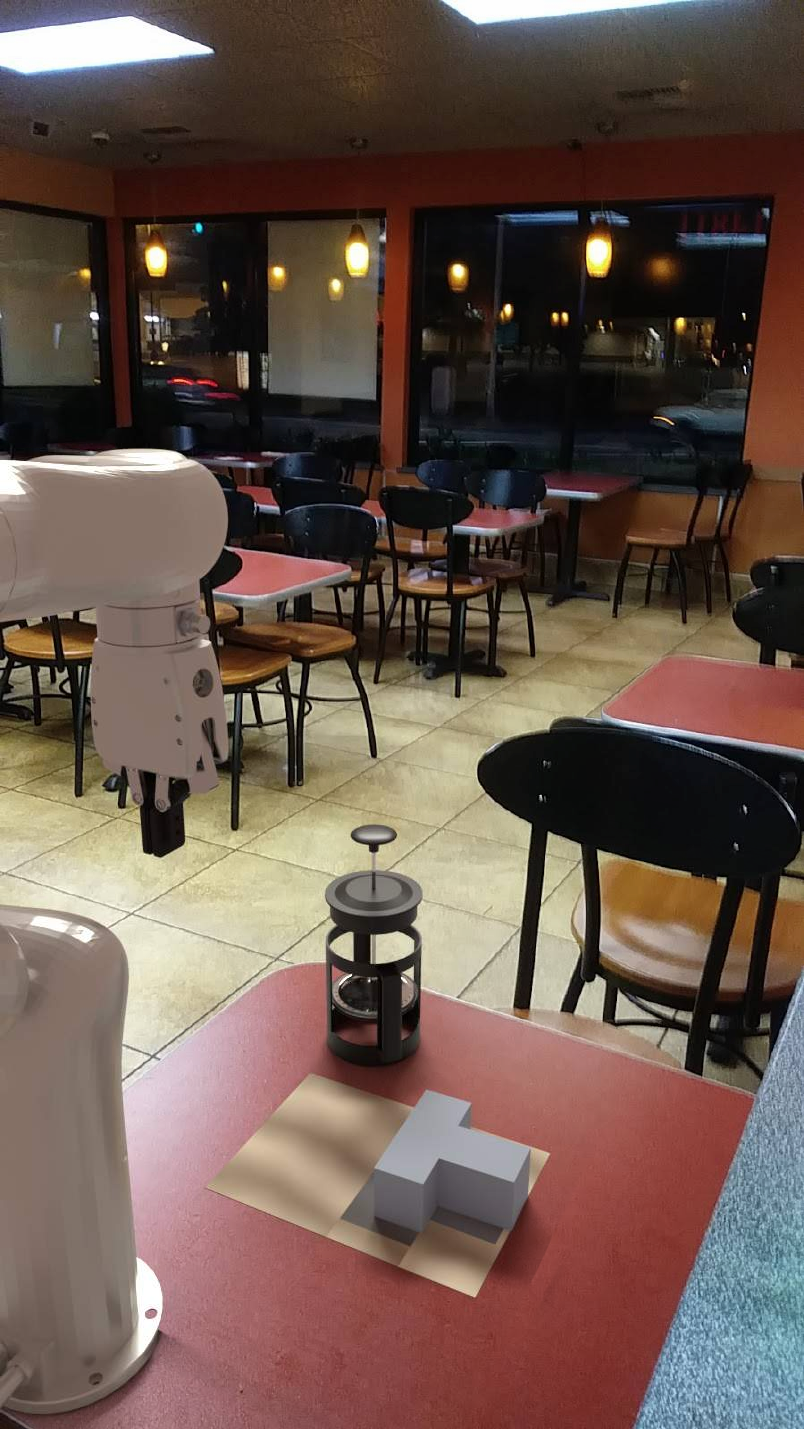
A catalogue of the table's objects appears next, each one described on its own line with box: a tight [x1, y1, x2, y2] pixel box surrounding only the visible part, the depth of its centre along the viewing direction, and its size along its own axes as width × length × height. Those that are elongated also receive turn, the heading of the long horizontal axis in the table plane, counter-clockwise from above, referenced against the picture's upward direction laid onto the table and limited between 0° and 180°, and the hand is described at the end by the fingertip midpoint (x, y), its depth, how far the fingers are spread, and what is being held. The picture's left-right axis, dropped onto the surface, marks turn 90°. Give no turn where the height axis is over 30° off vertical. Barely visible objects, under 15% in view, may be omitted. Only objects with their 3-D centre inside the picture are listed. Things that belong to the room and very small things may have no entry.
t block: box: [374, 1089, 531, 1233], centre depth 83 cm, size 10×10×4 cm
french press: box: [324, 823, 423, 1068], centre depth 99 cm, size 12×9×23 cm
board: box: [204, 1072, 551, 1299], centre depth 86 cm, size 16×23×1 cm
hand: (164, 848), depth 84 cm, fingers closed
